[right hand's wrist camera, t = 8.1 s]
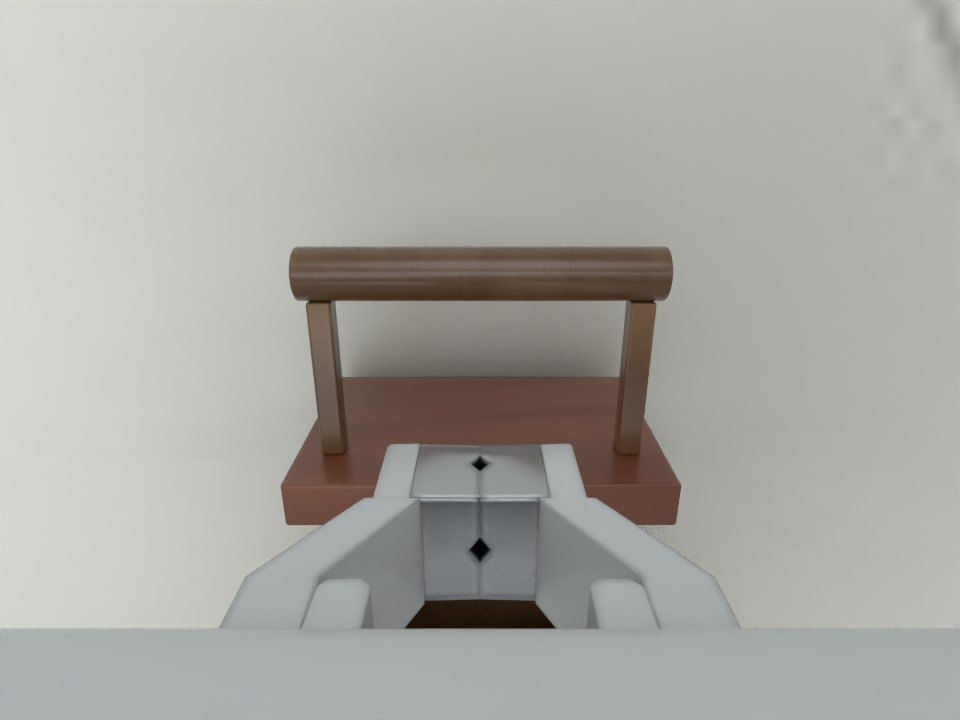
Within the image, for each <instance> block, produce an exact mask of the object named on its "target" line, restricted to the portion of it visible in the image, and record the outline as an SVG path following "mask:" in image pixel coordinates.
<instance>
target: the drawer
mask: <svg viewBox="0 0 960 720" xmlns="http://www.w3.org/2000/svg"><path fill="white" fill-rule="evenodd" d="M289 279H290V286H291V290H292V293H293V295H294V297H295V299H296V300H298V301H308V302H307V303H306V312H307V321H308V330H309V339H310V348H311V357H312V366H313V375H314V384H315V393H316V402H317V412H318V418H317V420H316V422H315V424H314V425H313V427H312V429H311V431H310V433H309V435H308V436H307V438H306V440H305V442H304V444H303V446H302V447H301V449H300V451H299V453H298V455H297V457H296V458H295V460H294V462H293V464H292V466H291V468H290V469H289V471H288V473H287V475H286V477H285V479H284V481H283V482H282V484H281V491H282V498H283V505H284V512H285V519H286V524H287V525H324V524H326V523H327V522H329V521H330V520H332V519H333V518H335V517H336V516H338V515H339V514H341V513H342V512H344V511H345V510H347V509H348V508H350V507H351V506H353V505H354V504H356V503H357V502H359V501H360V500H362V499H363V498H373V496H374V493H375V489H376V486H377V482H378V479H379V475H380V472H381V468H382V465H383V461H384V458H385V454H386V451H387V447H388V446H389V445H391V444H419V445H421V444H433V445H480V446H488V445H530V444H540V445H546V444H570V445H572V448H573V451H574V455H575V458H576V462H577V465H578V469H579V472H580V475H581V479H582V482H583V486H584V489H585V493H586V496H587V498H597V499H598V500H600V501H601V502H603V503H604V504H606V505H607V506H609V507H610V508H612V509H613V510H615V511H616V512H618V513H619V514H621V515H622V516H624V517H625V518H627V519H628V520H630V521H631V522H633V523H634V524H636V525H674V524H675V523H676V518H677V511H678V504H679V497H680V490H681V484H680V482H679V481H678V479H677V477H676V475H675V473H674V472H673V470H672V468H671V466H670V464H669V462H668V461H667V459H666V457H665V455H664V453H663V452H662V450H661V448H660V446H659V444H658V442H657V441H656V439H655V437H654V435H653V433H652V432H651V430H650V428H649V426H648V424H647V422H646V421H645V419H644V412H645V403H646V394H647V385H648V376H649V367H650V358H651V349H652V340H653V331H654V322H655V313H656V303H655V302H654V301H663V300H665V299H667V297H668V295H669V293H670V290H671V286H672V279H673V262H672V256H671V253H670V250H669V249H668V248H667V247H295V248H294V249H293V250H292V253H291V256H290V262H289ZM335 301H627V302H626V312H625V323H624V334H623V345H622V356H621V367H620V377H342V371H341V360H340V349H339V338H338V327H337V317H336V306H335ZM424 603H425V604H424V605H423V606H422V607H421V609H420V610H419V611H418V612H417V614H416V615H415V616H414V617H413V618H412V620H411V621H410V622H409V623H408V625H407V626H406V627H405V628H404V629H556V628H555V626H554V625H553V624H552V623H551V622H550V620H549V619H548V618H547V617H546V615H545V614H544V613H543V612H542V611H541V609H540V608H539V607H538V606H537V604H536V601H528V600H491V599H467V600H432V601H424Z"/></svg>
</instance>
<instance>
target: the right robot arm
mask: <svg viewBox="0 0 960 720" xmlns="http://www.w3.org/2000/svg"><path fill="white" fill-rule="evenodd" d="M467 599H491V600H528V601H536V604H537V606H538V607H539V608H540V609H541V611H542V612H543V613H544V614H545V615H546V617H547V618H548V619H549V620H550V622H551V623H552V624H553V625H554V626H555V628H556V629H404V628H405V627H406V626H407V625H408V623H409V622H410V621H411V620H412V618H413V617H414V616H415V615H416V614H417V612H418V611H419V610H420V609H421V607H422V606H423V605H424V604H425V603H424V601H432V600H467ZM0 720H960V629H741V627H740V625H739V623H738V621H737V619H736V617H735V615H734V613H733V611H732V609H731V607H730V605H729V603H728V601H727V600H726V598H725V596H724V594H723V592H722V590H721V588H720V586H719V584H718V582H717V580H716V578H715V577H714V576H712V575H711V574H709V573H708V572H706V571H705V570H703V569H702V568H700V567H699V566H697V565H696V564H694V563H693V562H691V561H690V560H688V559H687V558H685V557H684V556H682V555H681V554H679V553H678V552H676V551H675V550H673V549H672V548H670V547H669V546H667V545H666V544H664V543H663V542H661V541H660V540H658V539H657V538H655V537H654V536H652V535H651V534H649V533H648V532H646V531H645V530H643V529H642V528H640V527H639V526H637V525H636V524H634V523H633V522H631V521H630V520H628V519H627V518H625V517H624V516H622V515H621V514H619V513H618V512H616V511H615V510H613V509H612V508H610V507H609V506H607V505H606V504H604V503H603V502H601V501H600V500H598V499H597V498H587V496H586V493H585V489H584V486H583V482H582V479H581V475H580V472H579V469H578V465H577V462H576V458H575V455H574V451H573V448H572V445H570V444H546V445H540V444H530V445H488V446H480V445H433V444H421V445H419V444H391V445H389V446H388V447H387V451H386V454H385V458H384V461H383V465H382V468H381V472H380V475H379V479H378V482H377V486H376V489H375V493H374V496H373V498H363V499H362V500H360V501H359V502H357V503H356V504H354V505H353V506H351V507H350V508H348V509H347V510H345V511H344V512H342V513H341V514H339V515H338V516H336V517H335V518H333V519H332V520H330V521H329V522H327V523H326V524H324V525H323V526H321V527H320V528H318V529H317V530H315V531H314V532H312V533H311V534H309V535H308V536H306V537H305V538H303V539H302V540H300V541H299V542H297V543H295V544H294V545H292V546H291V547H289V548H288V549H286V550H285V551H283V552H282V553H280V554H279V555H277V556H276V557H274V558H273V559H271V560H270V561H268V562H267V563H265V564H264V565H262V566H261V567H259V568H258V569H256V570H255V571H253V572H252V573H250V574H249V575H247V576H246V577H245V579H244V581H243V583H242V585H241V586H240V588H239V590H238V592H237V594H236V596H235V598H234V600H233V602H232V604H231V606H230V608H229V610H228V611H227V613H226V615H225V617H224V619H223V621H222V623H221V625H220V627H219V629H0Z"/></svg>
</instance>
